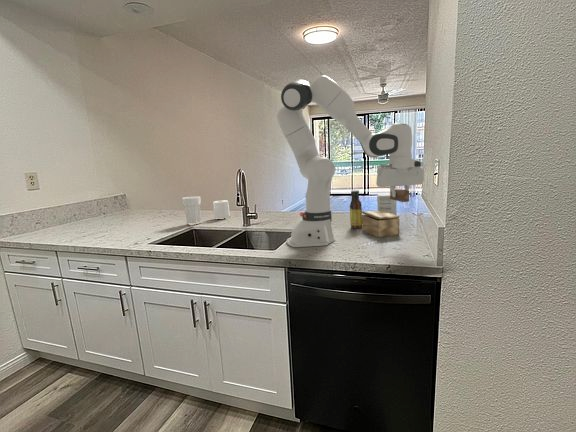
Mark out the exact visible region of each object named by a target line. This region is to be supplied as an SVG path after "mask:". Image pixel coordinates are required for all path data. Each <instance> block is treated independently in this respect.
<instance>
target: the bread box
mask: <svg viewBox="0 0 576 432" xmlns="http://www.w3.org/2000/svg"><path fill="white" fill-rule="evenodd" d="M361 229H362V231H364V232H366V233H367V234H370V235H372V236H374V237H376V238H386V237H394V236H395V237H396V236H400V217H399V218H388V219H376V218H373V217H371V216H368V215H366V214H362V227H361Z"/></svg>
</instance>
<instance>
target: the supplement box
mask: <svg viewBox="0 0 576 432" xmlns="http://www.w3.org/2000/svg"><path fill="white" fill-rule="evenodd" d="M376 195H377V196H376V198H377V199H376V202H377V209H376V211H385V212H388V213H391V214H394V215H397V201H396V200H392V199H390V192H389V193H377V194H376Z"/></svg>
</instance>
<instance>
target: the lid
mask: <svg viewBox="0 0 576 432" xmlns="http://www.w3.org/2000/svg"><path fill="white" fill-rule="evenodd" d="M365 214H366V215H368V216H371V217H373V218H376V219H388V218H399V219H400V215H397V214H396V215H394V214H391V213H388V212H385V211H377V210H370V211H369V210H368V211H365V210H362V215H365Z"/></svg>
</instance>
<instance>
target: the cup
mask: <svg viewBox="0 0 576 432" xmlns="http://www.w3.org/2000/svg"><path fill="white" fill-rule="evenodd" d="M181 201H182V205H183V206H184V211H185V218H186V219H185V220H186V224H187V223H197V222H201V223H202V217H201V215H202V214H201V208H200V207H201V204H202V201H201V196H200V195H198V196H197V195H195V196H193V195H192V196H184V197H182V198H181Z"/></svg>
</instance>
